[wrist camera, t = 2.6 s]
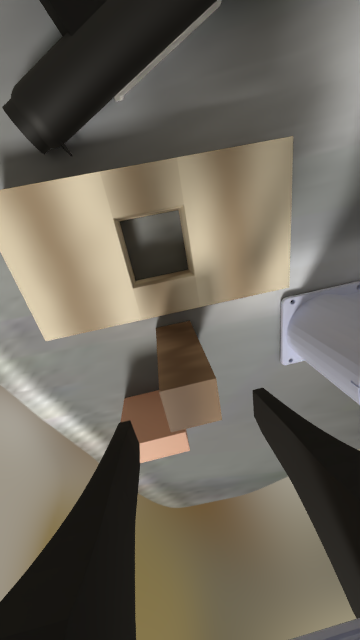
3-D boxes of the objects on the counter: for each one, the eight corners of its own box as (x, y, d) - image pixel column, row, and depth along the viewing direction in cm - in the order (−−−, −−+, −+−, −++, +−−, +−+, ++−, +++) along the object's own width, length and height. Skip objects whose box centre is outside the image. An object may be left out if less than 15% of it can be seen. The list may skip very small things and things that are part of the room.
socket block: (268, 153, 16) (293, 135, 13) (270, 280, 20) (289, 287, 17) (5, 202, 15) (-29, 195, 12) (61, 325, 19) (45, 341, 16)
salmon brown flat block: (177, 385, 23) (185, 432, 18) (181, 401, 24) (189, 450, 19) (124, 398, 23) (116, 449, 17) (130, 413, 24) (124, 467, 18)
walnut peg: (189, 320, 20) (216, 378, 12) (195, 349, 22) (222, 419, 13) (155, 328, 20) (159, 392, 12) (163, 356, 21) (170, 432, 13)
